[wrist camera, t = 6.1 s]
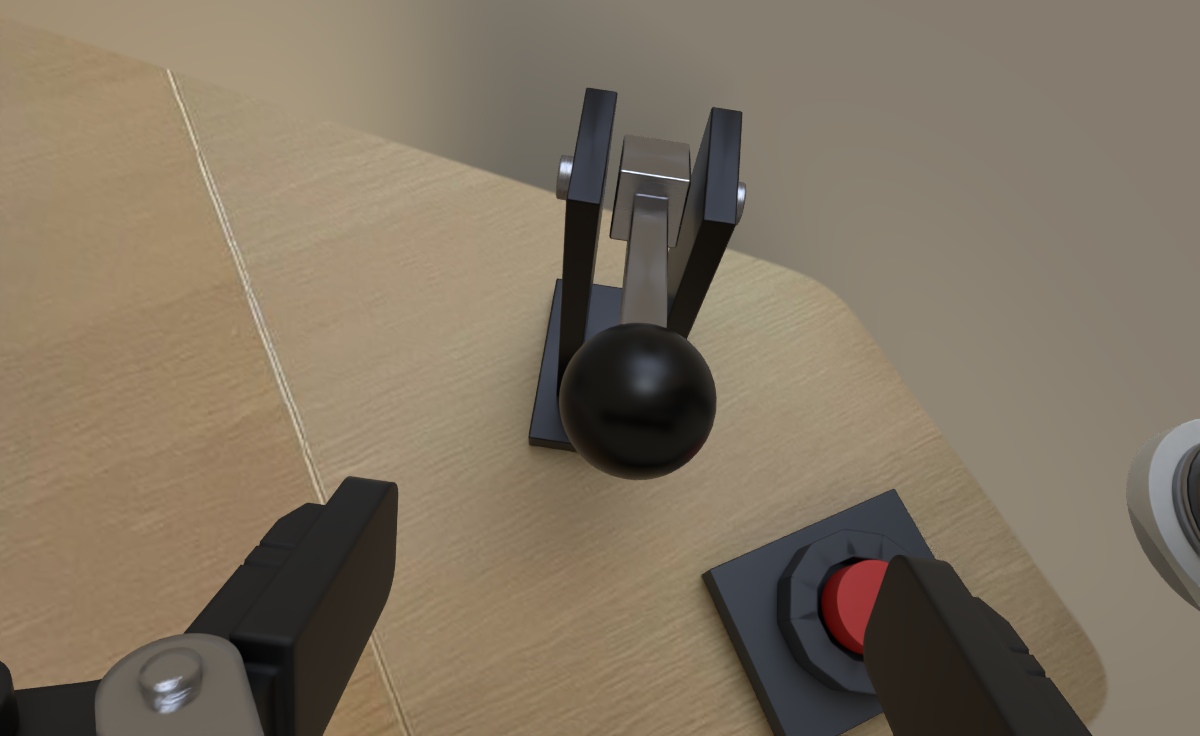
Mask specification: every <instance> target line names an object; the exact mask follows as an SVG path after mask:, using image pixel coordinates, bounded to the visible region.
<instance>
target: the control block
mask: <svg viewBox="0 0 1200 736" xmlns="http://www.w3.org/2000/svg"><path fill="white" fill-rule="evenodd" d="M895 555H906V556H913V557H920V558H927V559H934V560H936V559H935V558H934V556H933V554H932V552H931V551H930V549H929V547H928V545H927V544H926V542H925V540H924V539H923V537H922V535H921V533H920V532H919V530H918V528H917V527H916V525H915V523H914V521H913V520H912V518H911V516H910V514H909V513H908V511H907V509H906V508H905V506H904V504H903V502H902V501H901V499H900V497H899V496H898V494H897V492H896V490H895V489H892V490H890V491H887V492H885V493H883V494H880V495H878V496H876V497H874V498H871V499H869V500H867V501H865V502H862V503H860V504H858V505H855V506H853V507H851V508H849V509H846V510H844V511H842V512H840V513H837V514H835V515H833V516H830V517H828V518H826V519H824V520H821V521H819V522H817V523H815V524H812V525H810V526H808V527H805V528H803V529H801V530H799V531H796V532H794V533H792V534H790V535H787V536H785V537H783V538H780V539H778V540H776V541H774V542H771V543H769V544H767V545H765V546H762V547H760V548H758V549H755V550H753V551H751V552H749V553H746V554H744V555H742V556H740V557H737V558H735V559H733V560H730V561H728V562H726V563H724V564H721V565H719V566H717V567H715V568H712V569H710V570H708V571H707V572H705V573H704V574H702V577H703V579H704V581H705V583H706V585H707V588H708V590H709V592H710V594H711V596H712V599H713V601H714V603H715V605H716V607H717V610H718V612H719V614H720V616H721V618H722V621H723V623H724V625H725V627H726V629H727V632H728V634H729V636H730V638H731V640H732V643H733V645H734V647H735V649H736V651H737V654H738V656H739V658H740V660H741V662H742V665H743V667H744V669H745V671H746V673H747V676H748V678H749V680H750V682H751V684H752V687H753V689H754V691H755V693H756V695H757V698H758V700H759V702H760V704H761V706H762V709H763V711H764V713H765V715H766V717H767V719H768V722H769V724H770V726H771V728H772V730H773V733H774V735H775V736H838V735H840V734H842V733H844V732H846V731H848V730H850V729H852V728H854V727H856V726H858V725H859V724H861V723H863V722H865V721H867V720H869V719H871V718H873V717H875V716H877V715H879V714H880V713H882V712H884V711H883V709H882V707H881V704H880V702H879V700H878V697H877V695H876V692H875V690H874V688H873V685H872V683H871V681H870V678H869V676H868V674H867V671H866V668H865V663H864V657H863V655H862V654H858V653H855V652H852V651H850V650H849V649H847V648H845V647H844V646H843V645H841V644H840V643H839V642H838V641H837V640H836V639H835V638H834V637H833V635H832V634H831V633H830V631H829V629H828V627H827V625H826V623H825V621H824V617H823V614H822V606H821V600H822V593H823V590H824V587H825V585H826V583H827V581H828V580H829V578H830V577H831V576H832V575H833V574H834V573H836V572H837V571H838V570H840V569H842V568H845V567H848V566H850V565H853V564H856V563H859V562H862V561H866V560H880V561H885V562H888V563H889V562H890V560H891V559H892V558H893V557H894V556H895Z"/></svg>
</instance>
